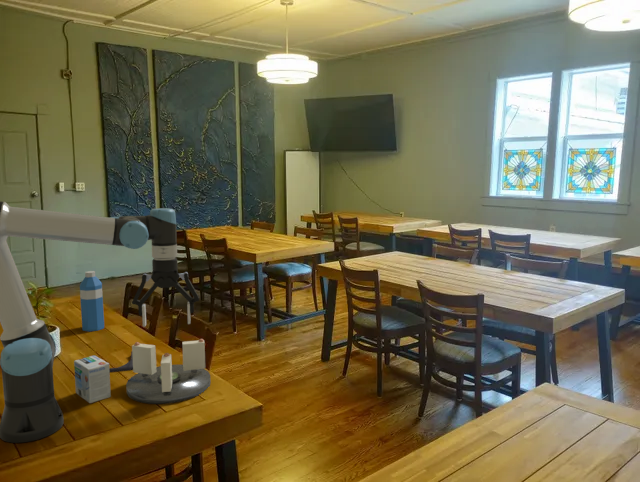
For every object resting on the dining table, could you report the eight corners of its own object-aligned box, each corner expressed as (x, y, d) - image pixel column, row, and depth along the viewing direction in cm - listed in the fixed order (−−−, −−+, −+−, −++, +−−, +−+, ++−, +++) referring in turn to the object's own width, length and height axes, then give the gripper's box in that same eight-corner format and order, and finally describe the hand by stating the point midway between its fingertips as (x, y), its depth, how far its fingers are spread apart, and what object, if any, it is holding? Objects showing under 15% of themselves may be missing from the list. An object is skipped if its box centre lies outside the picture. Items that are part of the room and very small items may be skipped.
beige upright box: (183, 374, 171) (182, 341, 169) (183, 371, 173) (182, 339, 172) (205, 371, 173) (204, 339, 171) (204, 368, 175) (203, 337, 174)
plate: (171, 411, 150) (170, 398, 149) (108, 393, 162) (107, 380, 161) (226, 378, 173) (226, 367, 172) (167, 365, 185) (167, 354, 184)
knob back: (156, 375, 170) (155, 342, 168) (151, 378, 167) (150, 345, 166) (138, 372, 172) (136, 340, 170) (133, 375, 169) (131, 343, 168)
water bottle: (99, 331, 222) (96, 274, 218) (77, 331, 222) (74, 274, 218) (108, 324, 231) (105, 269, 227) (87, 324, 231) (84, 269, 227)
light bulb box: (75, 393, 162) (72, 360, 160) (96, 386, 167) (94, 354, 165) (90, 404, 155) (87, 369, 153) (112, 396, 159) (110, 363, 158)
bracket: (153, 355, 196) (153, 348, 196) (153, 369, 182) (152, 362, 182) (113, 359, 192) (112, 352, 192) (109, 374, 178) (108, 366, 178)
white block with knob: (171, 395, 155) (169, 359, 154) (162, 396, 155) (160, 360, 153) (172, 385, 162) (171, 351, 160) (163, 386, 161) (162, 352, 160)
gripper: (120, 261, 155) (123, 330, 158) (205, 258, 161) (207, 325, 164) (124, 257, 162) (127, 322, 165) (205, 254, 168) (207, 318, 171)
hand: (167, 324), depth 165 cm, fingers open, 13 cm apart
